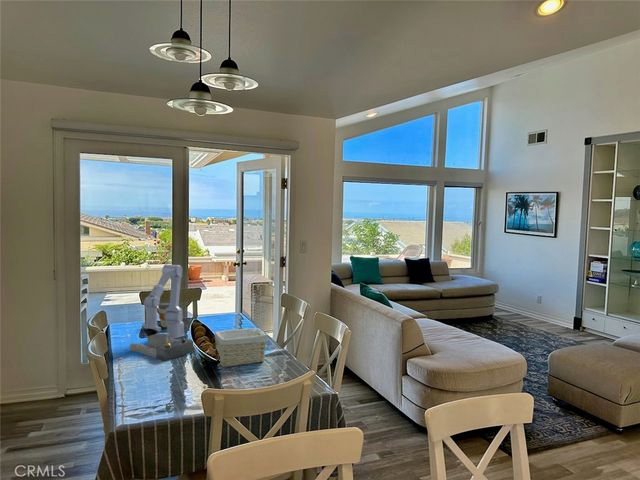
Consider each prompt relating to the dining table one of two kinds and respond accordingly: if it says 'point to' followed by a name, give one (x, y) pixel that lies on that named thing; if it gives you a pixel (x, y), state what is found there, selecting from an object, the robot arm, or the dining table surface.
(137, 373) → the dining table surface
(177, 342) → the motor block
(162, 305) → the reusable coffee cup
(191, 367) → the dining table surface
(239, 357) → the storage basket
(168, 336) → the teacup
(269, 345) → the dining table surface
